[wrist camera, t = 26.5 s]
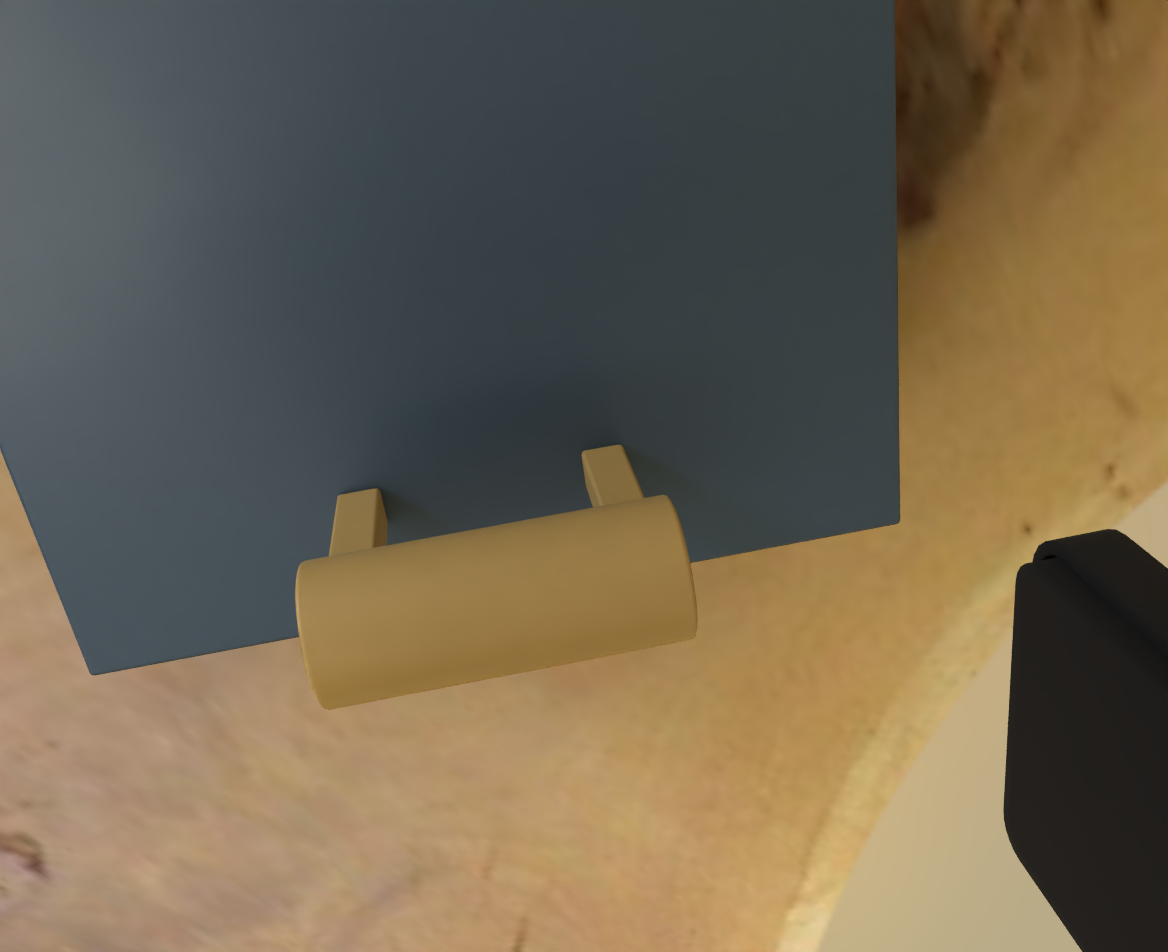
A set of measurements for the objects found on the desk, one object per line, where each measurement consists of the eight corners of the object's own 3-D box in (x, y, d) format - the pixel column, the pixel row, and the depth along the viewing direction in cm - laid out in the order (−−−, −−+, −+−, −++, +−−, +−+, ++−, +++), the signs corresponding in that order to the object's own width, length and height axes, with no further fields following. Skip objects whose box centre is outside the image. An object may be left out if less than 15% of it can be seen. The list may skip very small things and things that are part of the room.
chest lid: (885, 505, 20) (1033, 675, 15) (101, 652, 19) (-4, 882, 14) (864, -663, 13) (1123, -1025, 8) (-358, -524, 12) (-858, -841, 8)
